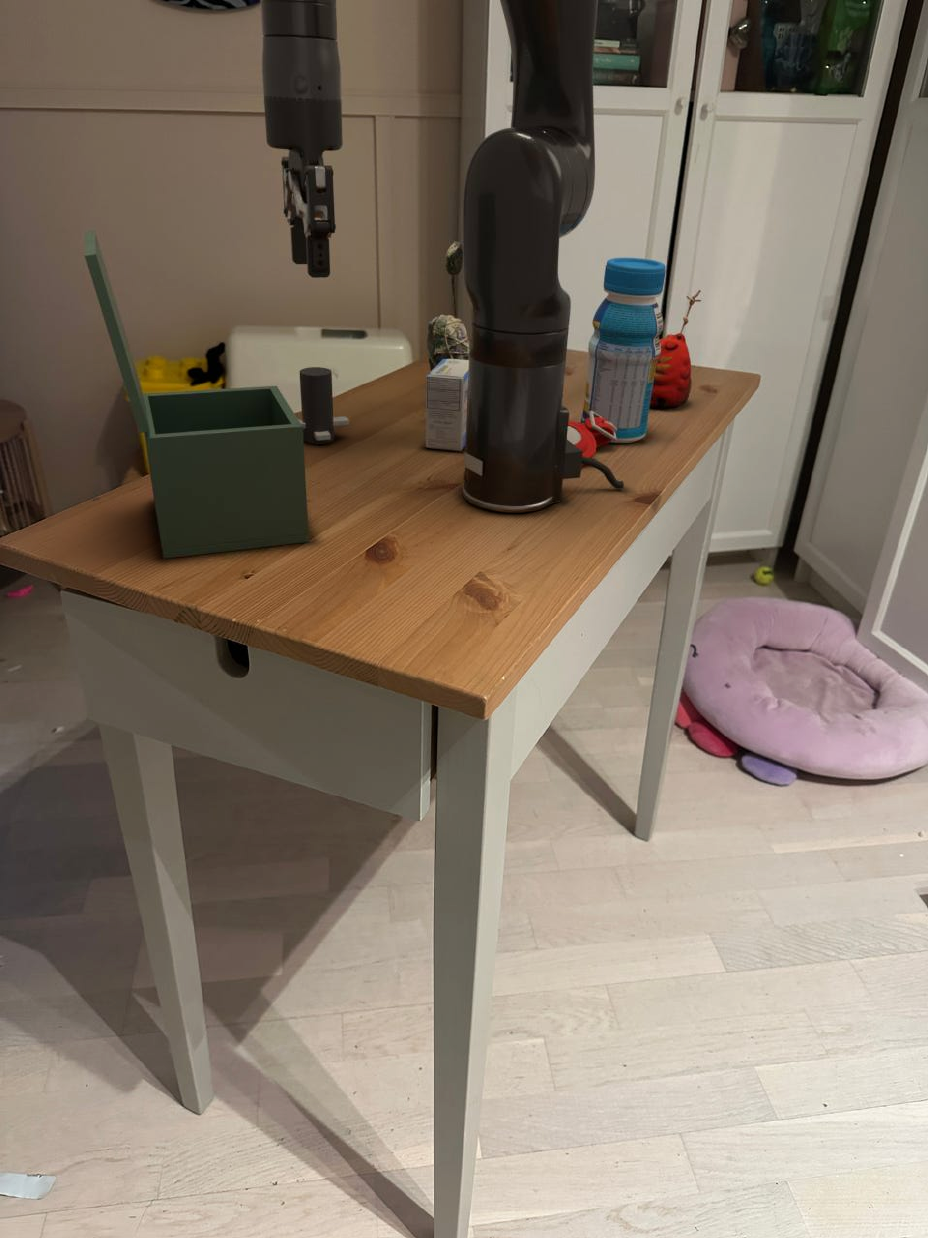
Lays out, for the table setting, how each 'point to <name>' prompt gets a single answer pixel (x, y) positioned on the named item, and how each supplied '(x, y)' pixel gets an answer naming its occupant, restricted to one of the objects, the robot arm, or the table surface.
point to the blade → (318, 406)
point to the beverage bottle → (625, 346)
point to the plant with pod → (449, 321)
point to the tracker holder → (591, 434)
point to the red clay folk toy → (673, 369)
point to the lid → (115, 329)
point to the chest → (226, 470)
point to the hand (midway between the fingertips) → (310, 269)
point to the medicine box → (447, 405)
